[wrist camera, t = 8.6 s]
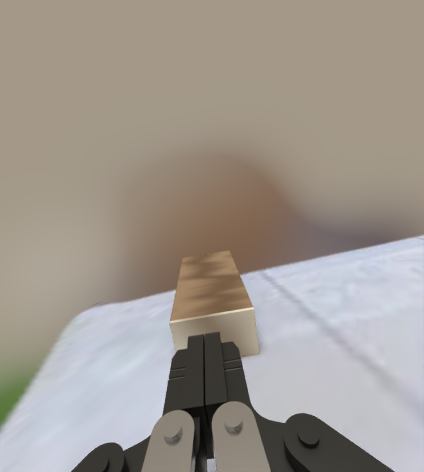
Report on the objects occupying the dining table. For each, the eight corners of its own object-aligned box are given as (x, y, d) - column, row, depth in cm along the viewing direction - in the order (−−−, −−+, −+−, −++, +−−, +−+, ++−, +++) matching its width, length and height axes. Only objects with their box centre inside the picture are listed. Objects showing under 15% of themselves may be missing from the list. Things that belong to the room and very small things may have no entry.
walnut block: (259, 354, 20) (233, 278, 36) (253, 309, 19) (229, 250, 34) (179, 368, 20) (188, 285, 35) (169, 323, 19) (182, 258, 34)
